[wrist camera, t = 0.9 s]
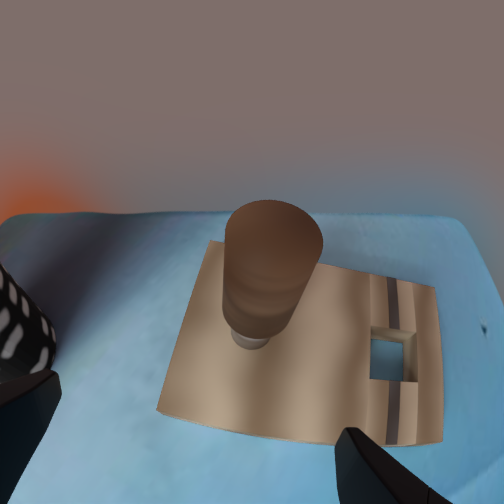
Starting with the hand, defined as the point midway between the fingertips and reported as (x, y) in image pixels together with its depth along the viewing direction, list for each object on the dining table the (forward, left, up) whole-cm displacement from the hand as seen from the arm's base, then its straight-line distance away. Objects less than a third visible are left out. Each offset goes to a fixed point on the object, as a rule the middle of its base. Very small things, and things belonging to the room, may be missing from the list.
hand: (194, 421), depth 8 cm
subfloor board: (+1, -11, -15) cm, 18 cm away
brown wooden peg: (+5, -7, -12) cm, 15 cm away
